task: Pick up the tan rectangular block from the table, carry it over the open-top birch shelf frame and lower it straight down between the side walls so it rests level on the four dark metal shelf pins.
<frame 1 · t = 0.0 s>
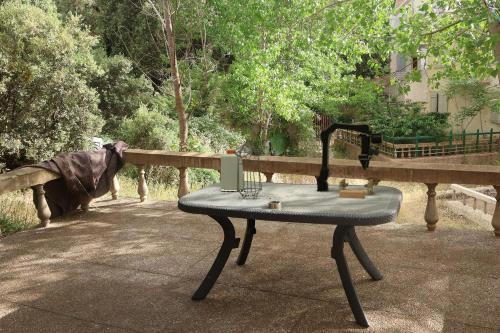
hand: (366, 168, 289), 15 cm above the table, tool pointing down, fingers open, 9 cm apart
tan rectangular block: (352, 197, 276), on the table
geometric lantern: (250, 197, 292), on the table
plastic bottle: (232, 190, 319), on the table
shelf frame: (356, 193, 288), on the table
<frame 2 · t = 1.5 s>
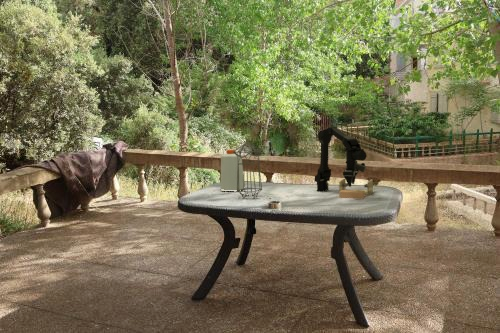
hand: (351, 185, 275), 7 cm above the table, tool pointing down, fingers open, 9 cm apart
nothing on the table moved.
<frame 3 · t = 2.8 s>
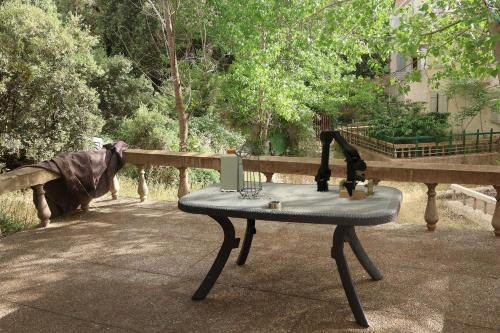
hand: (351, 195, 276), 1 cm above the table, tool pointing down, fingers closed on tan rectangular block, 6 cm apart
tan rectangular block: (352, 197, 276), on the table, touching gripper
everything else where it was.
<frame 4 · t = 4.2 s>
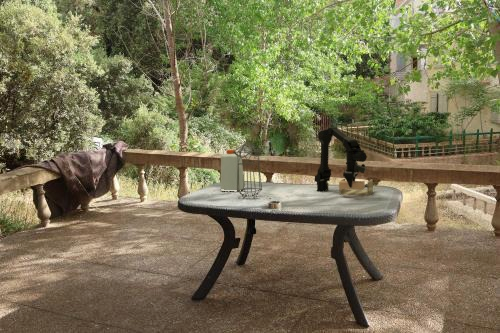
hand: (351, 186, 275), 7 cm above the table, tool pointing down, fingers closed on tan rectangular block, 6 cm apart
tan rectangular block: (352, 188, 276), point 5 cm above the table, touching gripper
everything else where it was.
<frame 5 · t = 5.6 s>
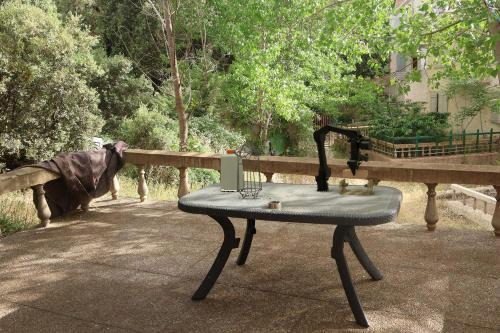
hand: (355, 174, 285), 12 cm above the table, tool pointing down, fingers closed on tan rectangular block, 6 cm apart
tan rectangular block: (355, 176, 285), point 11 cm above the table, touching gripper
everything else where it was.
when the fingers open (8 cm above the table, at t = 7.6 s): tan rectangular block stays where it is, resting on shelf frame.
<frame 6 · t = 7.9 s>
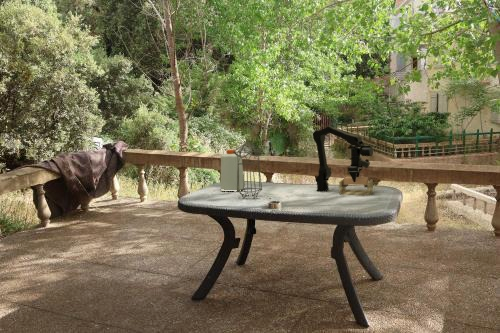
hand: (356, 180, 287), 8 cm above the table, tool pointing down, fingers open, 9 cm apart
tan rectangular block: (356, 184, 287), point 6 cm above the table, touching shelf frame
everything else where it was.
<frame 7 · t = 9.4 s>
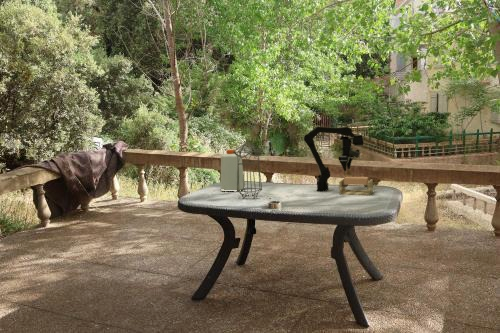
hand: (347, 169, 300), 13 cm above the table, tool pointing down, fingers open, 9 cm apart
nothing on the table moved.
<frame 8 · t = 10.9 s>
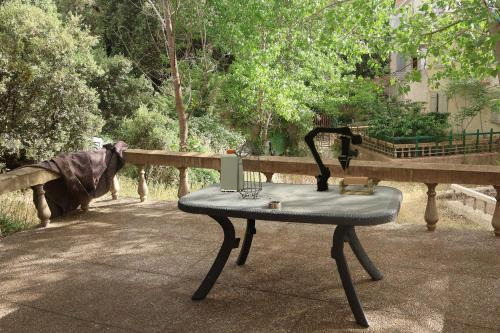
hand: (346, 169, 302), 13 cm above the table, tool pointing down, fingers open, 9 cm apart
nothing on the table moved.
at the end: tan rectangular block 0.1 cm off-centre on the shelf frame, point 5.8 cm above the shelf frame's base; tan rectangular block tilted 0°; the gripper is holding nothing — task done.
